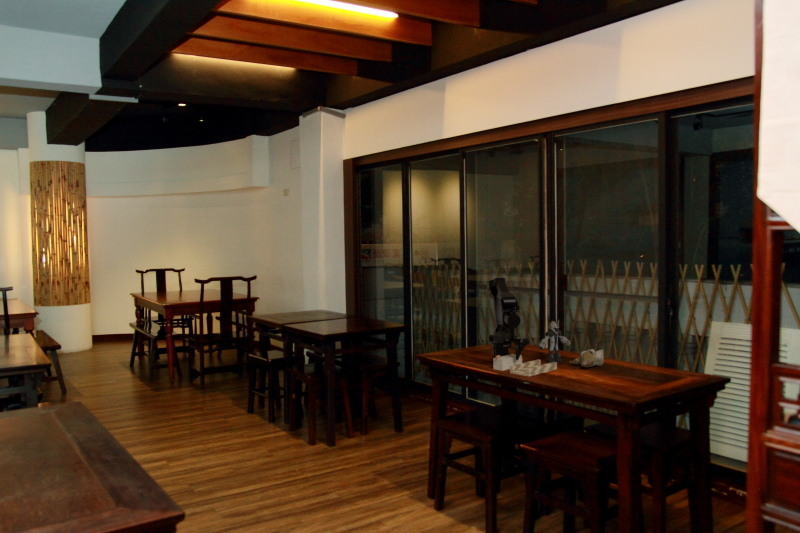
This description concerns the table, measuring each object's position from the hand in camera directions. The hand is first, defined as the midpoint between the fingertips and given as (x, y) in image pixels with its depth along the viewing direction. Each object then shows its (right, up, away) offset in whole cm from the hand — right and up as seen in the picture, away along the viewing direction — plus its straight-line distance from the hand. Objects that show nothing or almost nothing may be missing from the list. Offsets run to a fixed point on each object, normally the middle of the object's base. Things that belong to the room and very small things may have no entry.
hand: (508, 358), depth 285 cm
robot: (+23, -3, +10) cm, 25 cm away
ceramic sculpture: (+36, -4, -1) cm, 36 cm away
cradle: (+9, -4, -9) cm, 14 cm away
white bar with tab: (0, -4, 0) cm, 4 cm away
